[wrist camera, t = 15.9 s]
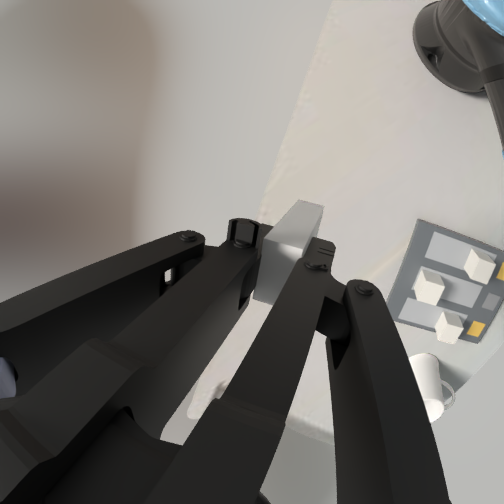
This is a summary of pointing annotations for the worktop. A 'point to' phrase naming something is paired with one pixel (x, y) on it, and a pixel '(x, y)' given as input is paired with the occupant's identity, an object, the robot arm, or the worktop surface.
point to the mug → (430, 384)
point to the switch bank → (446, 282)
